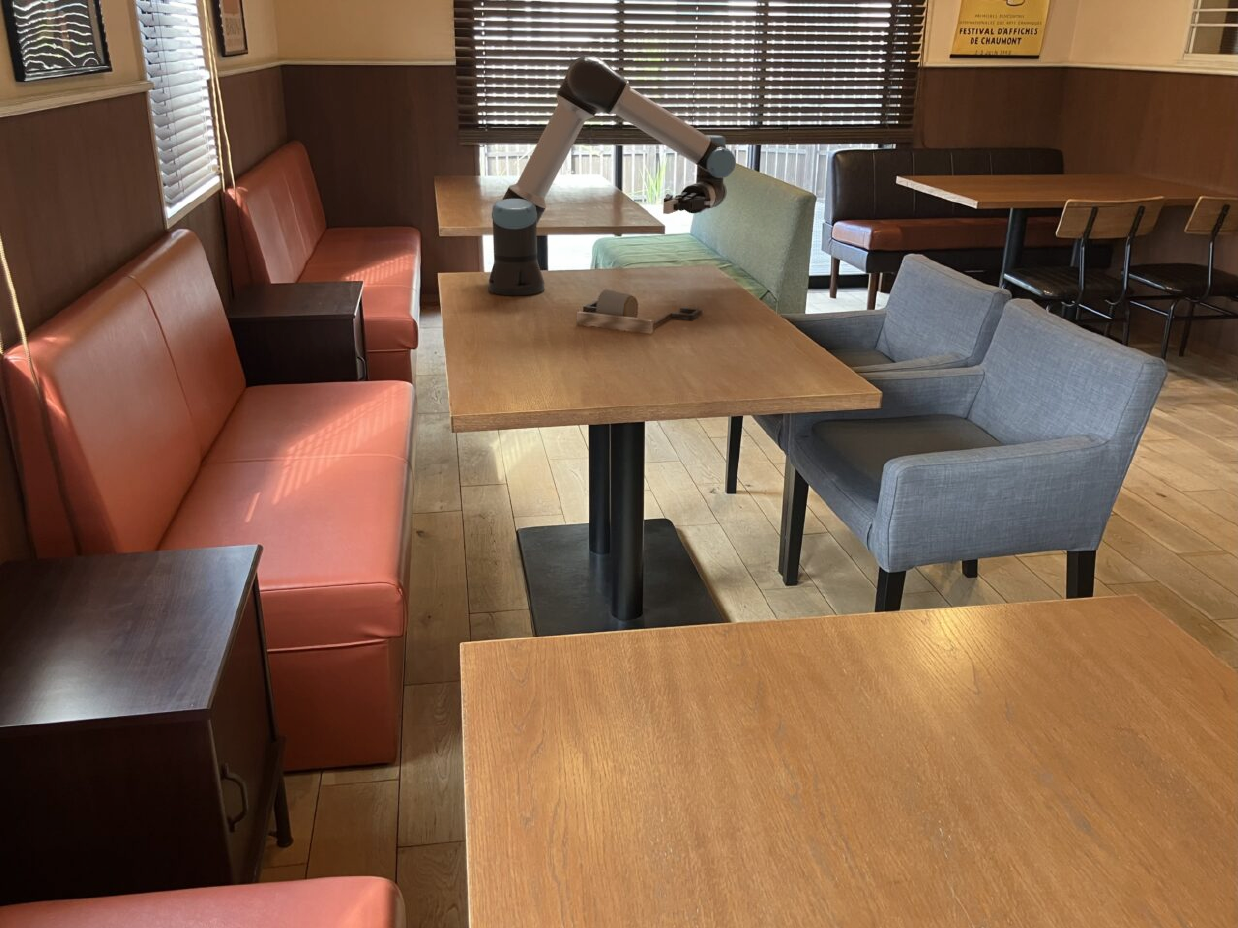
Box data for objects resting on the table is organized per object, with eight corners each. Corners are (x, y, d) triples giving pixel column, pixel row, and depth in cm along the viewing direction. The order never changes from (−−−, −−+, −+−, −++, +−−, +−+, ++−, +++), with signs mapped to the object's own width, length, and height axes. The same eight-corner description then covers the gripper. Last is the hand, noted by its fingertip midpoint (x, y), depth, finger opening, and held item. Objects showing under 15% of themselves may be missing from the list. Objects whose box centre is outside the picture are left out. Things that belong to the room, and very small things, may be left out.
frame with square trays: (560, 323, 247) (559, 310, 246) (599, 303, 267) (599, 291, 265) (668, 335, 237) (669, 323, 236) (701, 314, 256) (702, 302, 255)
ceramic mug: (625, 328, 243) (626, 295, 240) (595, 323, 247) (595, 291, 244) (645, 319, 252) (646, 288, 249) (616, 315, 256) (616, 284, 253)
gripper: (719, 214, 279) (689, 225, 259) (674, 210, 284) (641, 221, 264) (721, 185, 276) (691, 195, 256) (675, 182, 281) (642, 191, 261)
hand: (666, 208), depth 260 cm, fingers closed
